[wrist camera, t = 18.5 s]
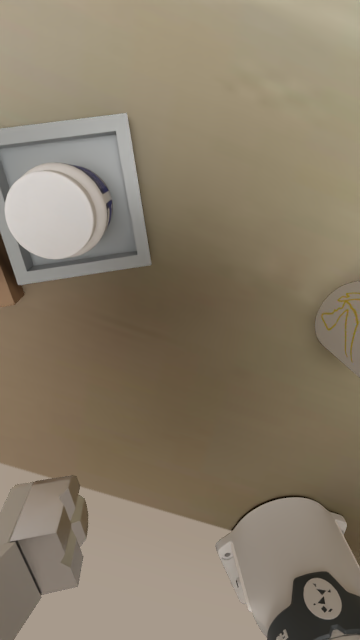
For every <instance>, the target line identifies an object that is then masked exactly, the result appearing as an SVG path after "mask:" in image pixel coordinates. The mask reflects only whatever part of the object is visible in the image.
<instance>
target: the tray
mask: <svg viewBox="0 0 360 640" xmlns="http://www.w3.org/2000/svg"><path fill="white" fill-rule="evenodd" d="M45 163H65V164H70V165H76V166H81V167H84V168H87V169H89V170H91V171H92V172H94V173H95V174H97V175H98V176H99V177H100V178H101V179H102V180H103V181H104V183H105V184H106V186H107V187H108V189H109V191H110V194H111V197H112V202H113V213H112V217H111V221H110V223H109V225H108V227H107V229H106V231H105V233H104V234H103V236H102V238H101V240H100V241H99V242H98V243H97V244H96V245H95V246H94V247H93V248H92V249H91V250H89V251H88V252H86V253H84V254H82V255H79V256H75V257H69V258H64V259H46V258H43V257H39V256H37V255H35V254H33V253H31V252H29V251H28V250H26V249H25V248H24V247H22V246H21V245H20V244H19V243H18V242H17V240H16V239H15V238H14V237H13V235H12V233H11V232H10V230H9V228H8V225H7V222H6V218H5V211H4V209H5V200H6V196H7V193H8V191H9V190H10V188H11V186H12V185H13V184H14V183H15V182H16V181H17V180H18V179H19V178H20V177H22V176H23V175H24V174H25V173H26V172H27V171H29V170H30V169H32V168H34V167H35V166H38V165H41V164H45ZM0 233H1V236H2V239H3V242H4V245H5V248H6V251H7V253H8V256H9V259H10V262H11V265H12V268H13V271H14V274H15V277H16V280H17V283H18V285H24V284H31V283H37V282H44V281H50V280H57V279H63V278H70V277H76V276H83V275H89V274H96V273H103V272H109V271H116V270H122V269H129V268H135V267H142V266H148V265H152V264H151V258H150V252H149V246H148V240H147V233H146V227H145V221H144V215H143V209H142V203H141V196H140V190H139V184H138V178H137V172H136V166H135V159H134V153H133V147H132V141H131V135H130V129H129V122H128V116H127V113H122V114H114V115H106V116H98V117H90V118H82V119H74V120H66V121H58V122H50V123H41V124H33V125H25V126H17V127H9V128H1V129H0Z"/></svg>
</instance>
